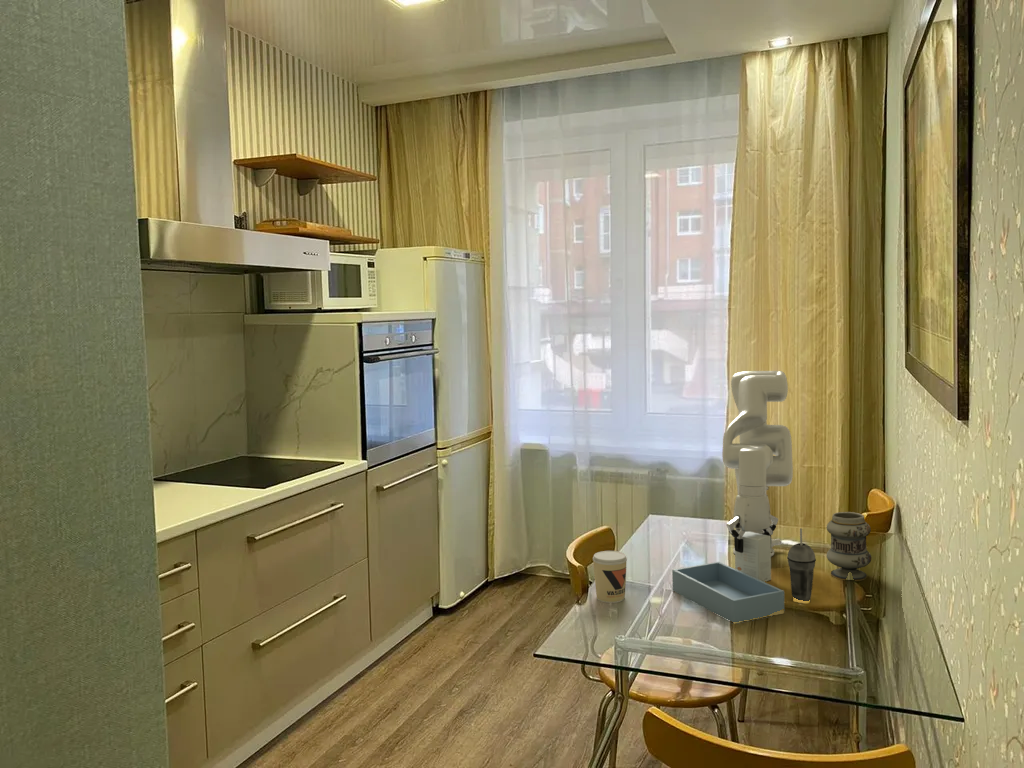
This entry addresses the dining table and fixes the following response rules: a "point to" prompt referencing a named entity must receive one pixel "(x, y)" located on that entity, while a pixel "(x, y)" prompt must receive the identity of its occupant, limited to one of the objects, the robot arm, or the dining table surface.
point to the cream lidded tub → (610, 576)
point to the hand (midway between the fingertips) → (752, 549)
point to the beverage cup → (801, 570)
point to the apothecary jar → (848, 545)
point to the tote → (727, 591)
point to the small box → (755, 556)
